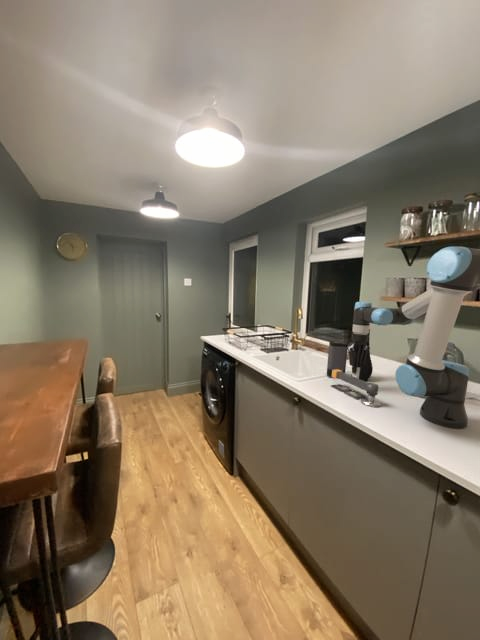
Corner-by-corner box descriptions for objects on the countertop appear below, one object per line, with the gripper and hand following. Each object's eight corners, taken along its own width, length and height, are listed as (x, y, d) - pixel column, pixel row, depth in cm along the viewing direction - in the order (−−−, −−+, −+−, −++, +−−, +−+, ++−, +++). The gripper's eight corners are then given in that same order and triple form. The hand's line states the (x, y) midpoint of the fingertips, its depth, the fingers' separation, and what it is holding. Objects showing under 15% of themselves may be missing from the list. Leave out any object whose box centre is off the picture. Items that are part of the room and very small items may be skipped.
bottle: (347, 378, 154) (352, 325, 150) (355, 374, 161) (361, 324, 157) (366, 383, 146) (372, 328, 142) (374, 379, 153) (380, 326, 150)
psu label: (351, 391, 134) (351, 389, 133) (342, 392, 131) (342, 390, 131) (339, 385, 141) (339, 383, 141) (330, 386, 139) (330, 385, 138)
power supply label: (366, 398, 125) (366, 396, 125) (356, 399, 123) (356, 398, 123) (353, 391, 133) (353, 390, 133) (343, 393, 130) (343, 391, 130)
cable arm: (379, 394, 118) (380, 385, 118) (372, 395, 116) (373, 386, 116) (337, 376, 141) (338, 368, 140) (331, 377, 139) (331, 369, 139)
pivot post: (385, 406, 118) (386, 396, 117) (371, 408, 114) (372, 398, 114) (369, 398, 125) (370, 389, 124) (356, 400, 122) (357, 391, 121)
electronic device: (342, 375, 157) (345, 341, 155) (345, 379, 152) (348, 343, 149) (325, 374, 158) (328, 340, 156) (328, 377, 152) (331, 342, 150)
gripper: (363, 331, 141) (359, 376, 144) (344, 332, 136) (339, 378, 139) (376, 334, 134) (371, 380, 137) (356, 334, 129) (351, 383, 132)
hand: (355, 379), depth 138 cm, fingers closed
